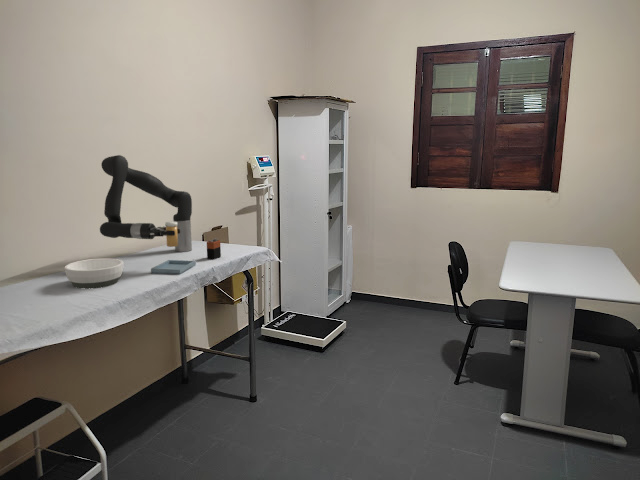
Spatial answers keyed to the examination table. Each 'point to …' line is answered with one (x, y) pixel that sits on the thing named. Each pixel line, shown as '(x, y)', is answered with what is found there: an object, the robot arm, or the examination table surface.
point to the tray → (173, 267)
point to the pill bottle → (172, 240)
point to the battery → (213, 249)
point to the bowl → (94, 272)
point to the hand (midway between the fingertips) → (177, 232)
